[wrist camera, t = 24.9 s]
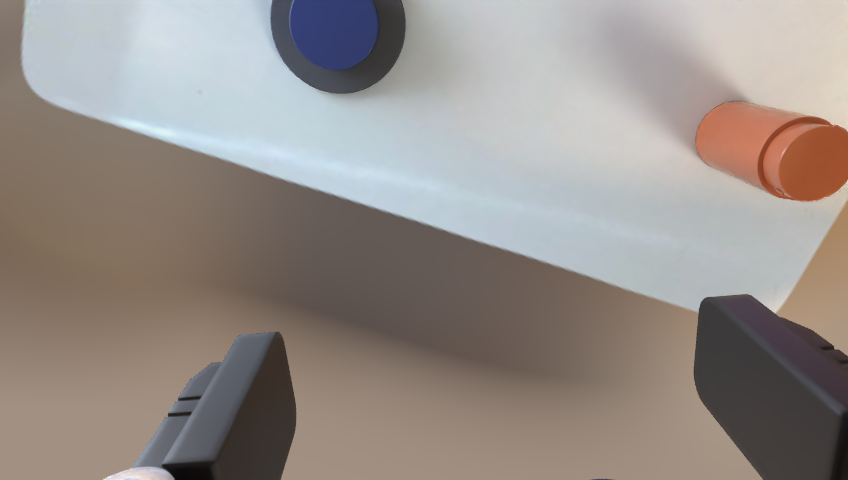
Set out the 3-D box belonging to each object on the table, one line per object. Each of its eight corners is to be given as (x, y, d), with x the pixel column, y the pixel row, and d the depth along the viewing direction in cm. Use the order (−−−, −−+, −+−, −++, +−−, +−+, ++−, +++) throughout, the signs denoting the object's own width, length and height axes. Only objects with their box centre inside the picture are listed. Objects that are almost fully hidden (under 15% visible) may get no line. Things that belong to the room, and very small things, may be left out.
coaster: (371, 115, 40) (370, 116, 40) (252, 55, 39) (250, 55, 39) (428, -8, 38) (428, -9, 37) (302, -77, 36) (301, -78, 36)
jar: (739, 179, 42) (826, 219, 33) (682, 153, 42) (755, 187, 33) (778, 117, 41) (880, 141, 32) (720, 89, 40) (808, 106, 31)
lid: (315, -39, 37) (309, -42, 35) (393, 4, 38) (392, 2, 36) (282, 44, 38) (276, 45, 37) (358, 83, 39) (355, 85, 37)
